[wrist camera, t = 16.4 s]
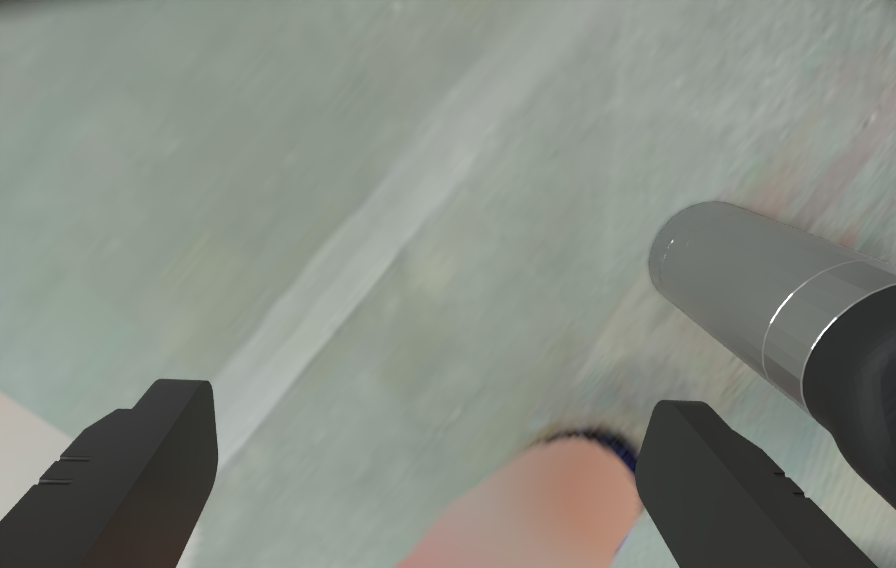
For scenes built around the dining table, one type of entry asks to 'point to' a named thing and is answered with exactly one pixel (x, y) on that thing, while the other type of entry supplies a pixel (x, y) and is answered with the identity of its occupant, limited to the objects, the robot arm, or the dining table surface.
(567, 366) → the dining table surface
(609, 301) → the dining table surface
